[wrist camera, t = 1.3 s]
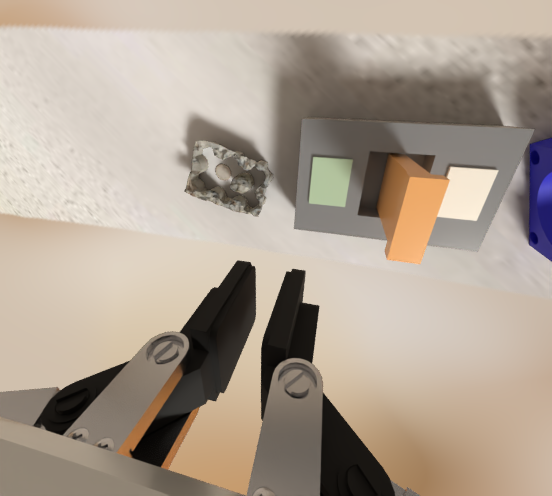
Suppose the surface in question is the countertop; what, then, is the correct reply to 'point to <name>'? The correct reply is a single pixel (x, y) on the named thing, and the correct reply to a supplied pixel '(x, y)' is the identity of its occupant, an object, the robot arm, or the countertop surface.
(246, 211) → the egg carton
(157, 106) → the countertop surface
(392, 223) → the breaker lever
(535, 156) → the cable clip
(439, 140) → the breaker box
